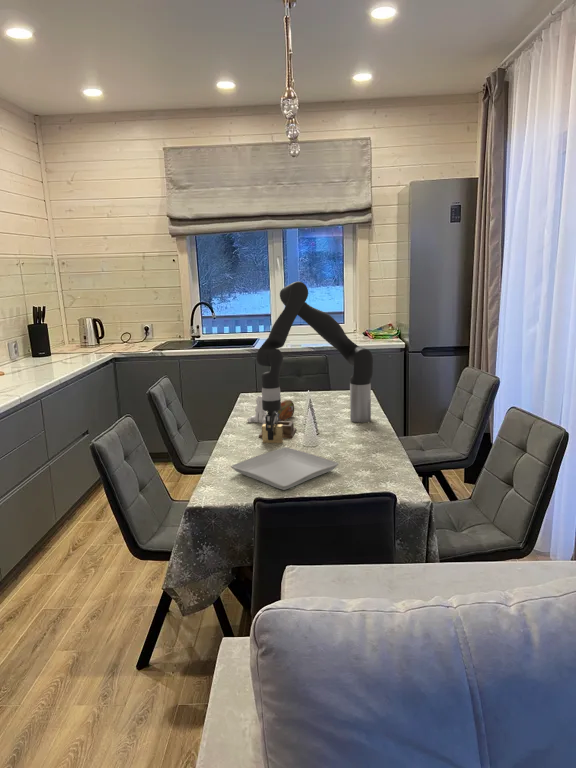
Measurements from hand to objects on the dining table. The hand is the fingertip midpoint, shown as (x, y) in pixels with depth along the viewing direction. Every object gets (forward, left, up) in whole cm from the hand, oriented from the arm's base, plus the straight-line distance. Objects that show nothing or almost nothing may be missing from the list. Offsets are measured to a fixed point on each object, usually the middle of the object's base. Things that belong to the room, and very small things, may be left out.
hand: (272, 436), depth 228 cm
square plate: (-11, +34, -3) cm, 36 cm away
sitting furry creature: (+12, -30, -2) cm, 32 cm away
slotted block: (0, -11, -2) cm, 11 cm away
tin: (+2, -34, -2) cm, 34 cm away
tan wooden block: (0, 0, -2) cm, 2 cm away
